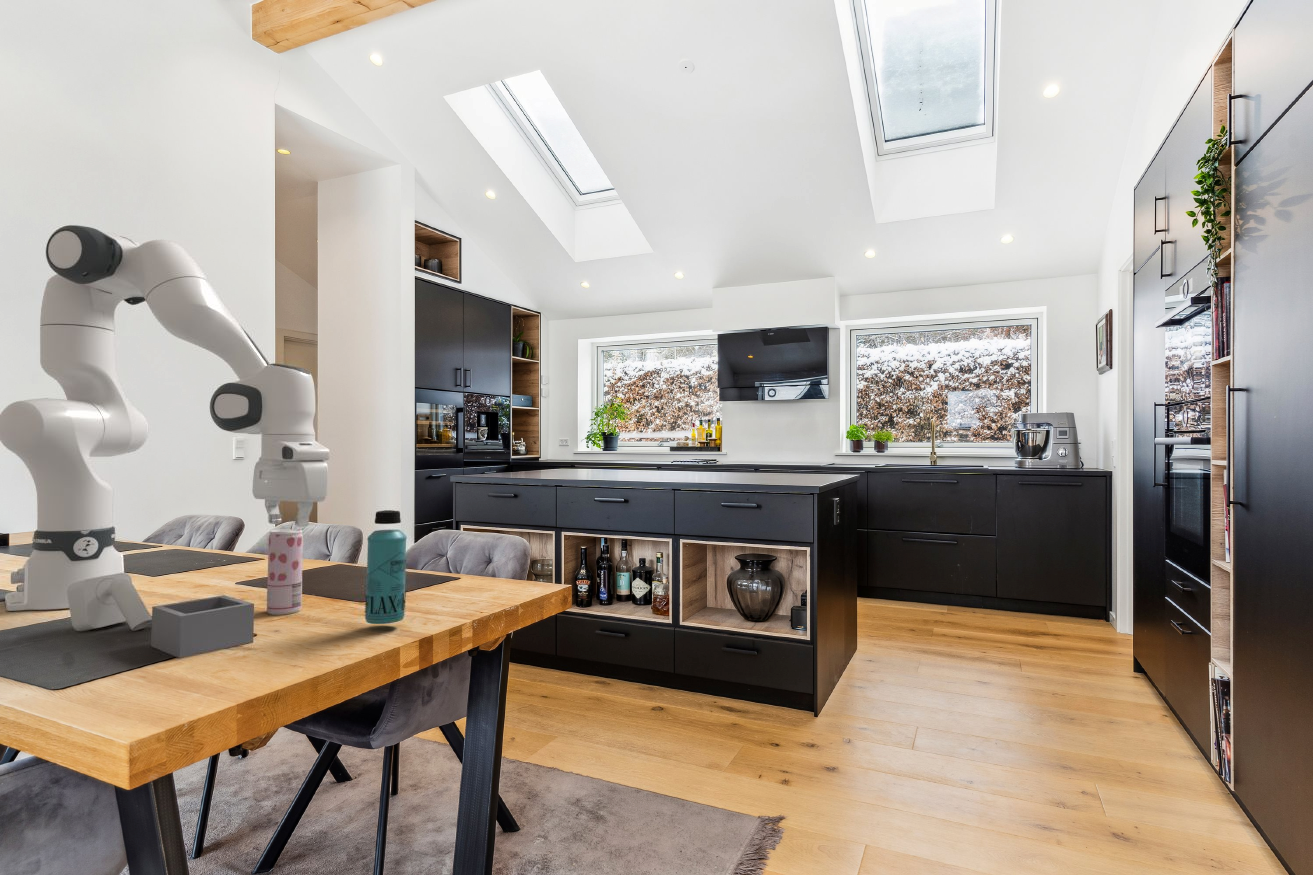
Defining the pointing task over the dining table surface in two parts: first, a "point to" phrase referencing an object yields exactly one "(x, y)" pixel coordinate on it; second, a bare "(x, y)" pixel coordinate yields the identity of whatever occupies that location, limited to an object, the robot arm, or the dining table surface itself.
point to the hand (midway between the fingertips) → (288, 525)
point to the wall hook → (106, 603)
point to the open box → (202, 625)
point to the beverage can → (285, 571)
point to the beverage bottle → (386, 572)
